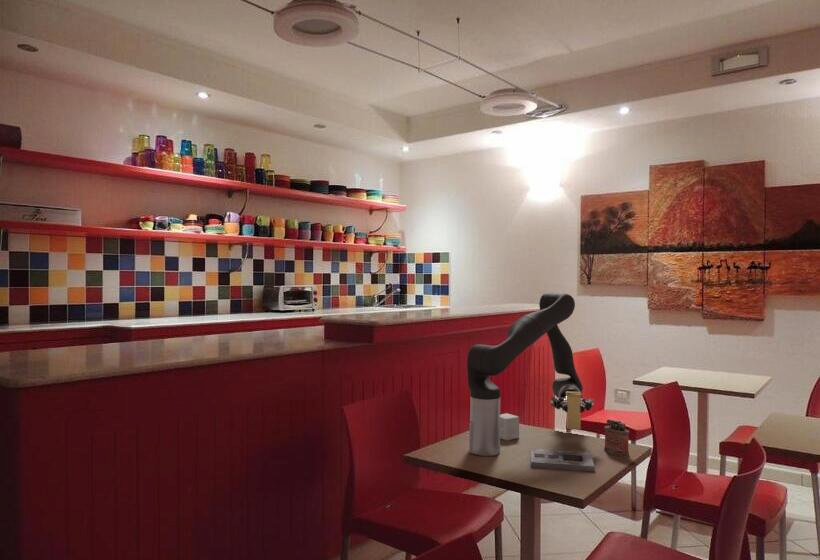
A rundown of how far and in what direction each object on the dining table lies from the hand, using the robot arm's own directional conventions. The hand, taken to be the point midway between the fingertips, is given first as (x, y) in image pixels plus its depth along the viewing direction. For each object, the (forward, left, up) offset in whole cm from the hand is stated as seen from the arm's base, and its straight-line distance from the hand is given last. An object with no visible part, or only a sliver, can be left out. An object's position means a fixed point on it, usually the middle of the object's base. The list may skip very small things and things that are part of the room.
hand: (574, 409), depth 177 cm
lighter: (+13, +3, -14) cm, 19 cm away
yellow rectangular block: (0, +3, -6) cm, 7 cm away
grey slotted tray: (-4, -10, -13) cm, 18 cm away
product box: (-21, +13, -14) cm, 28 cm away
